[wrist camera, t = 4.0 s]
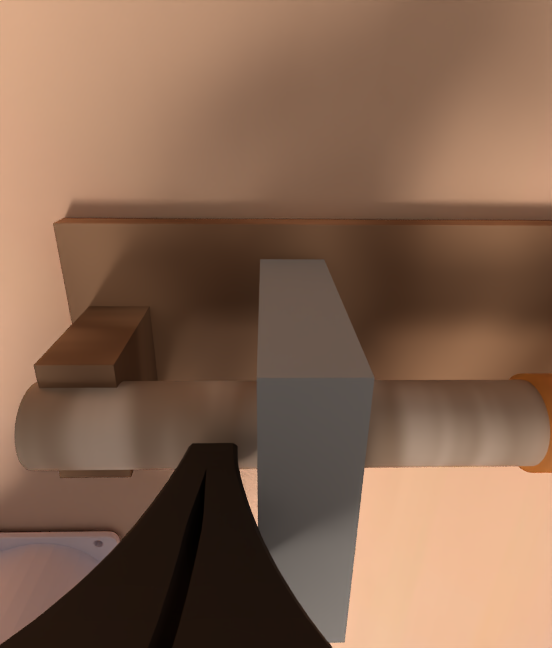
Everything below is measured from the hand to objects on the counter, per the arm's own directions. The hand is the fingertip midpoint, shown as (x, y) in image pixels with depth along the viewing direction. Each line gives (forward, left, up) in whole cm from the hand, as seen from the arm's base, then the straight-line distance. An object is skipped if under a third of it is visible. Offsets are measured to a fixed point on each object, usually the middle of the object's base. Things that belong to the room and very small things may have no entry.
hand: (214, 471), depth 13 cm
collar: (+2, 0, -6) cm, 7 cm away
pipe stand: (+6, 0, -8) cm, 10 cm away
